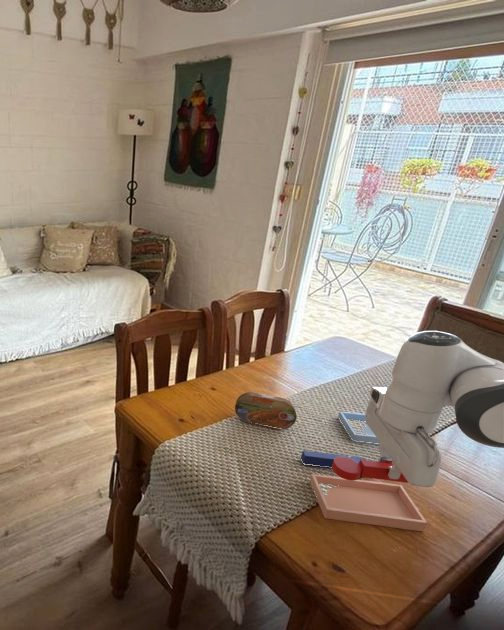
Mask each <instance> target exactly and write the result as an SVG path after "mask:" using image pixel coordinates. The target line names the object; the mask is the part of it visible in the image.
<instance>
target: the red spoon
mask: <svg viewBox="0 0 504 630" xmlns="http://www.w3.org/2000/svg"><path fill="white" fill-rule="evenodd" d="M388 466H389V467H393V466H394V465H393V462H392V463H387V462H379V461H378V460H368V459H366V460H362V459H360V462H359V464H358V463H357V462H356V461H354V460H352V459H350V458H347V457H336V458H335V459H334V461H333V465H332V469H331V470H332V472H333V473H334V474H335V475H336V476H337V477H340V478H343V479H346V480H360V477H361V478H367V479H374V480H375V479H376V480H383V481H389V482H390V481H391V482H398V483H406V484H409V483H408V481H407V480H406V478H405V477H404V476H403V474H402V473H401V475H400V477H399V479H390V478H389V476H388V475H387V473H386V471H387V467H388Z"/></svg>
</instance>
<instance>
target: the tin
mask: <svg viewBox="0 0 504 630" xmlns="http://www.w3.org/2000/svg"><path fill="white" fill-rule="evenodd" d="M234 411H235V414H236V416H237V417H238V419H240V420H241V421H242V422H243V423H247V424H250V425H255V426H260V427H265V428H269V429H274V430H277V429H276V428H272V427H277V428H282V430H287V429H289V428H291V427H292V426H294V425H295V423H296V422H297V418H298V417H297V410H296V407H295V406H294V404H293V403H292V402H291V401H290V400H288V399H287V398H284V397H281V396H275V395H269V394H265V393H259V392H254V391H248V392H244V393H241V394H240V395H239V396H238V397H237V399H236V401H235V404H234ZM251 422H252V423H251ZM255 423H258V424H255ZM259 424H262V425H259ZM263 425H268V426H272V427H268V426H263ZM278 430H281V429H278Z"/></svg>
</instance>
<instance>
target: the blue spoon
mask: <svg viewBox="0 0 504 630" xmlns="http://www.w3.org/2000/svg"><path fill="white" fill-rule="evenodd" d="M336 457H347V458H350V459H352V460H354V461H356V462H357V463H358V464H359V462H360V459H362V460H367V459H366V458H364V457H362V456H358V455H351V456H349V455H346V454H336V453H331V452H330V453H328V452H321V451H311V450H304V449H303V450H302V452H301V456H300V462H301V465H302V466H306V467H312V468H313V467H314V468H322V469H330V470H332V468H329V467H332V465H333V461H334V459H335V458H336ZM301 459H302V461H303V463H305V464H313V465H320V466H329V467H320V466H312V465H304V464H303V463H302V461H301Z"/></svg>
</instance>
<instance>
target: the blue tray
mask: <svg viewBox="0 0 504 630" xmlns="http://www.w3.org/2000/svg"><path fill="white" fill-rule="evenodd" d="M365 414H366V413H359V412H350V411H349V412H348V411H339V413H338V417H339V418H340V420H341V422H342V423H343V425H344V426H345V428H346V430H347V431H346V430H345V428H344V427H343V425H342V423H341V422H340V420H339V419H338V417H337V420H338V422H339V423H340V424H341V426H342V428H343V430H344V431H345V433H346V434H347V436H348V438H349V439H350V442H352V443H355V444H356V443H357V444H366V445H375V446H379V444H374V443H380V442H379V440H378V439H377V437H376V436H375V434H374V433H373V432H372V430H371V429H370V427H369V426H368V425H367V424H366V425H367V426H368V427H367V426H366V427H367V429H366V428H365V426H364V428H363V429H364V430H363V431H364V432H363V433H364V434H365V435H364V434H356V433H355V431H356V430H355V431H354V430H353V428H352V427H351V425H350V424H349V422H348V420H347V419H353V420H358V421H359V420H360V421H363V422H364V421H366V419H365ZM364 423H365V422H364ZM357 430H358V429H357ZM347 432H348V433H349V435H350V436H351V438H352V439H353V440H356V441H364V442H356V441H352V440H351V438H350V436H349V435H348V433H347ZM358 432H359V431H358ZM366 432H367V434H368V435H367V434H366ZM365 442H372V443H365Z"/></svg>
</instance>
